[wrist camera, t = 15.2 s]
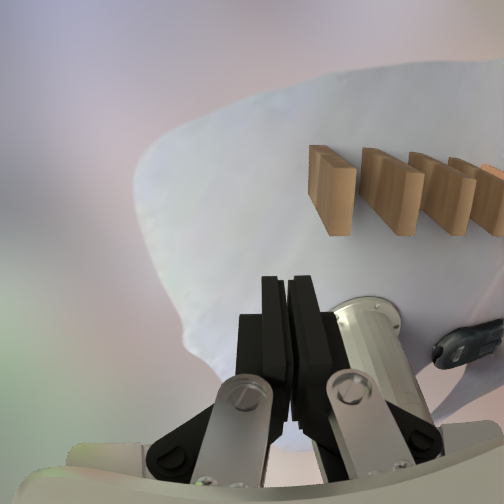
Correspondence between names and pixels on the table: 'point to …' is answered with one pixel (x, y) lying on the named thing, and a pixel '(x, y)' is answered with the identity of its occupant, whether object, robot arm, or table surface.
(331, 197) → the domino
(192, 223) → the table surface
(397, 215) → the domino
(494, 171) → the domino end
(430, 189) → the domino
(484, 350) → the electronic device
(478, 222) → the domino
